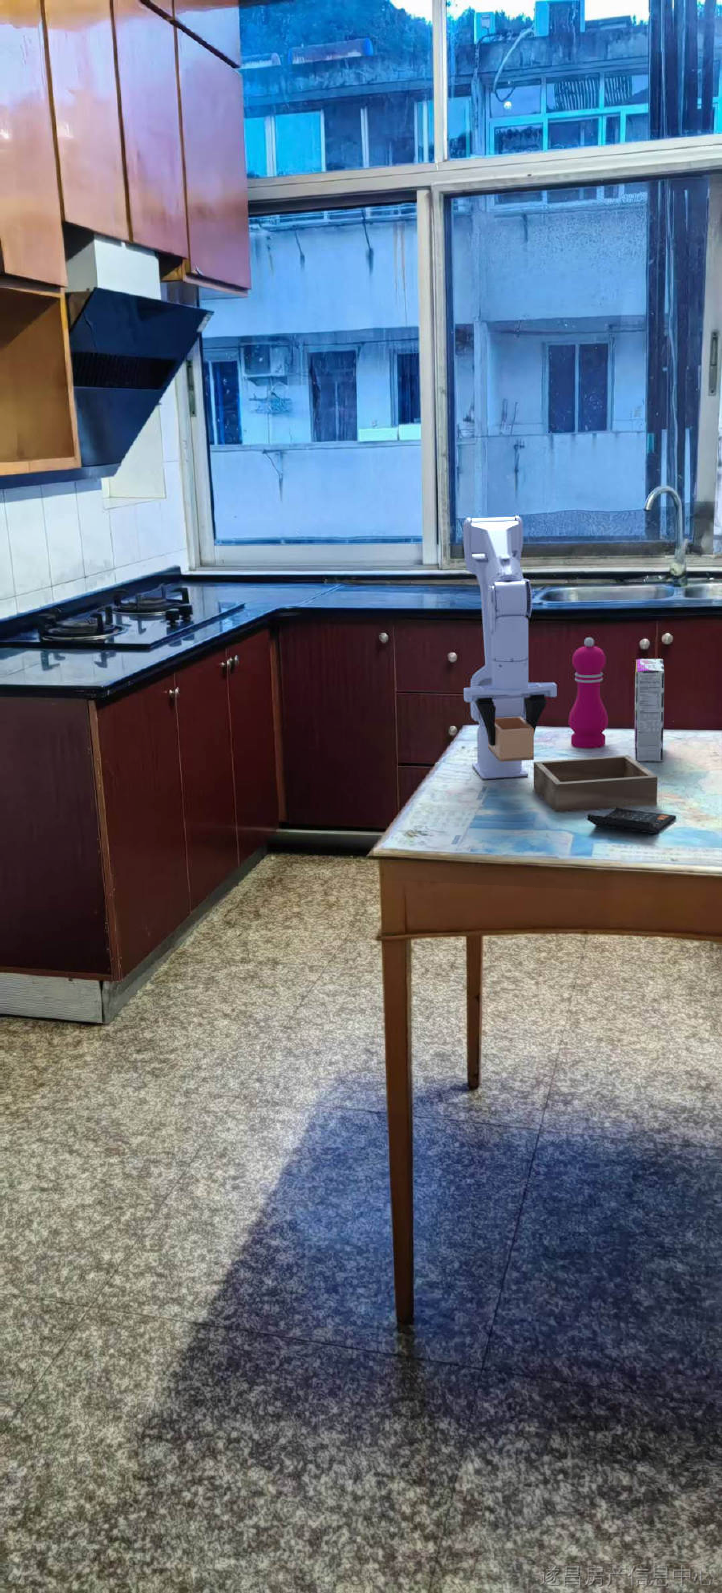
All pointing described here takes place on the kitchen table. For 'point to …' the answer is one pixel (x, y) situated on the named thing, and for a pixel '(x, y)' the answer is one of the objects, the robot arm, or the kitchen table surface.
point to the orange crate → (513, 740)
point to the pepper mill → (588, 698)
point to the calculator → (633, 820)
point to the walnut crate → (595, 783)
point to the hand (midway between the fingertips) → (510, 743)
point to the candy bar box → (649, 710)
